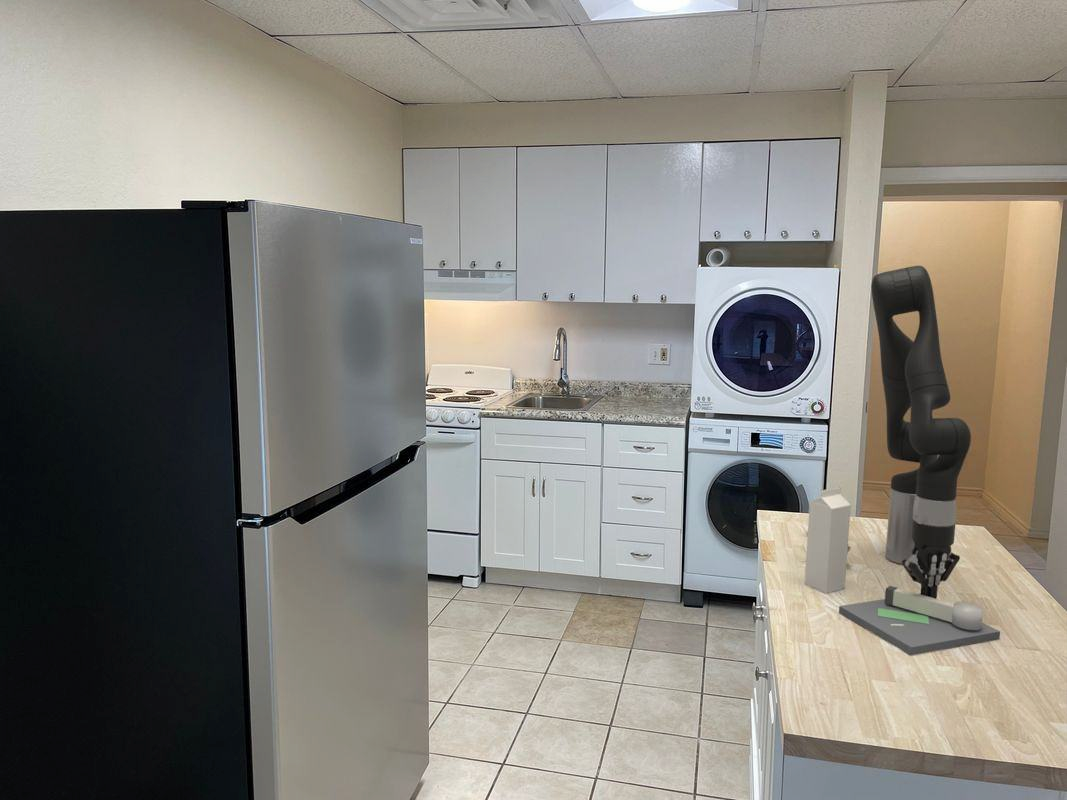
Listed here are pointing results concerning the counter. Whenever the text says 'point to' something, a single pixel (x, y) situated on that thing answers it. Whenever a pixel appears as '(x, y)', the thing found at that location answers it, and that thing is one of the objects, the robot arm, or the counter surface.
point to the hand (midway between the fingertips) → (928, 602)
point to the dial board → (913, 627)
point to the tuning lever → (937, 608)
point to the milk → (827, 542)
